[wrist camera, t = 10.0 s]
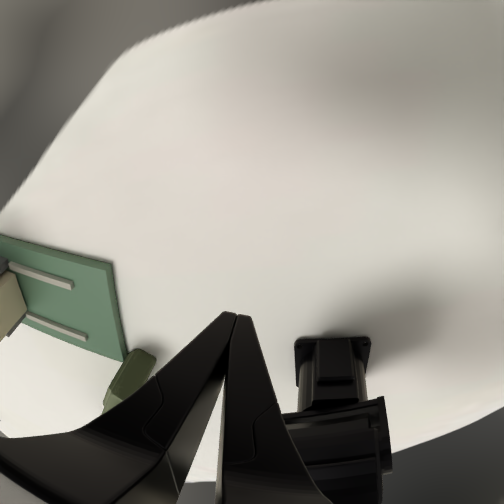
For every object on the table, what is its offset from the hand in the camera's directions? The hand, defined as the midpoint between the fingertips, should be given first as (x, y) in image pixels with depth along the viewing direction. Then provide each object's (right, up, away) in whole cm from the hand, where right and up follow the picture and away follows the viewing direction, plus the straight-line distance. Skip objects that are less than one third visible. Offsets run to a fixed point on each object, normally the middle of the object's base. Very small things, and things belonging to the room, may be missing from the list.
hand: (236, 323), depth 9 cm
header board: (-22, -2, +19) cm, 29 cm away
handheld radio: (-16, -17, +27) cm, 36 cm away
